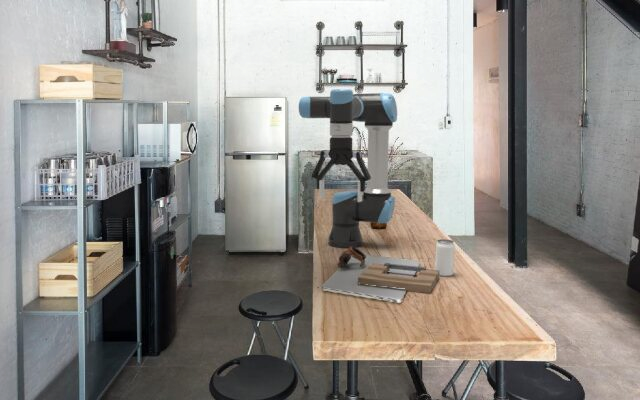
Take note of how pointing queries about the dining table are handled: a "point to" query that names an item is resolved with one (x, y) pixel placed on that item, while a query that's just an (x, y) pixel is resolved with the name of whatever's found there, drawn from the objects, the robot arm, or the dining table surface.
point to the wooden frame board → (399, 279)
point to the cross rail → (404, 267)
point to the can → (445, 257)
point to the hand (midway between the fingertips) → (340, 200)
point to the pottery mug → (347, 256)
